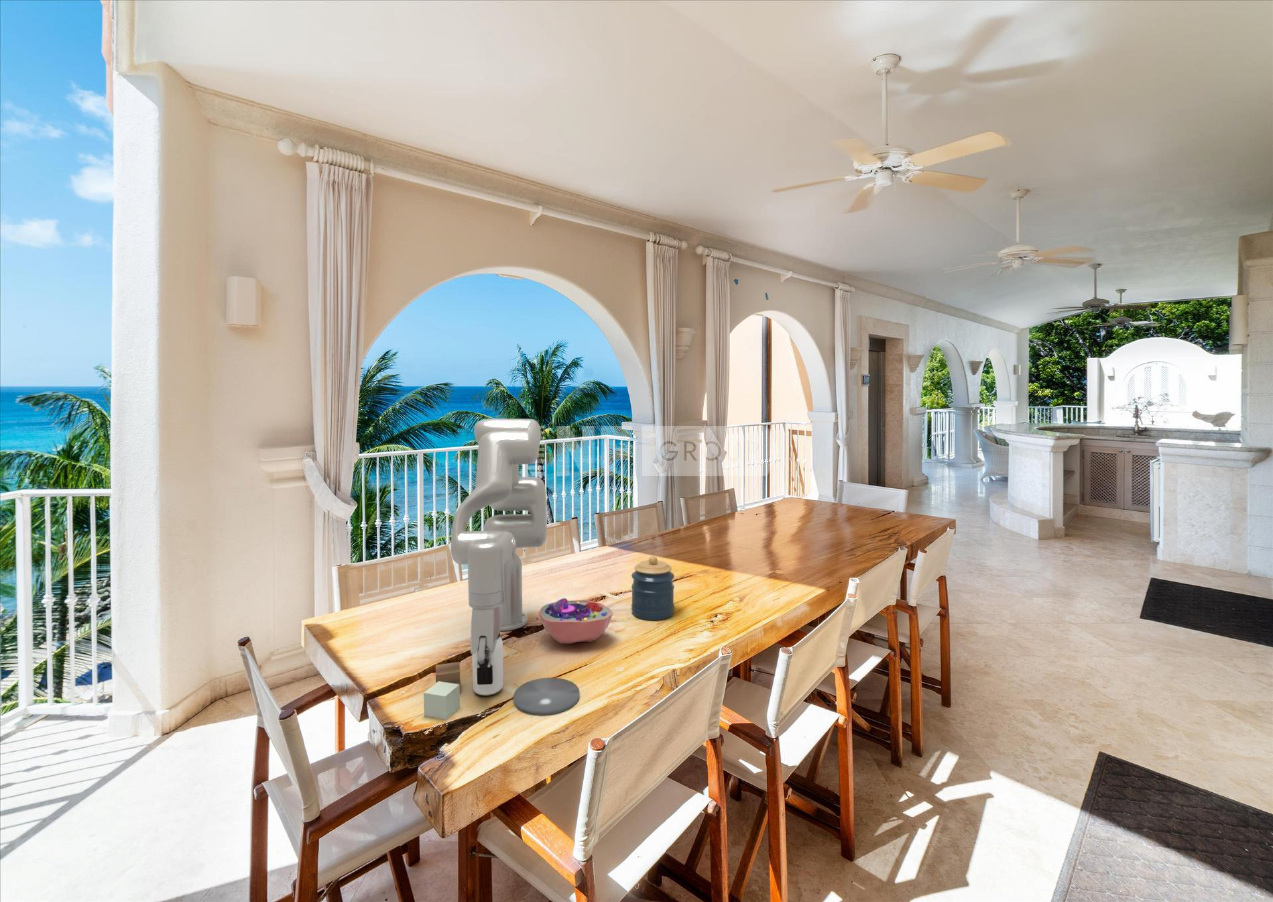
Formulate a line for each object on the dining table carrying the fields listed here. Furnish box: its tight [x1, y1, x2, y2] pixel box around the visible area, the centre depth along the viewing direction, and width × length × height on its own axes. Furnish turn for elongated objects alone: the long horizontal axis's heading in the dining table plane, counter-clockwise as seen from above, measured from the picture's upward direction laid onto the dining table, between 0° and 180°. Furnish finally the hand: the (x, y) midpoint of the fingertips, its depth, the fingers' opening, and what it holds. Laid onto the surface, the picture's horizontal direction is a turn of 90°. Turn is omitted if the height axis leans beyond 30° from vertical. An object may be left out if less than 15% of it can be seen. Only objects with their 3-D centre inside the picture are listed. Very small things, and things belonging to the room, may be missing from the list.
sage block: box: [423, 681, 461, 721], centre depth 116 cm, size 5×5×5 cm
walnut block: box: [435, 661, 461, 689], centre depth 125 cm, size 5×5×5 cm
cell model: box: [538, 597, 614, 644], centre depth 151 cm, size 17×20×11 cm
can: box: [471, 632, 504, 696], centre depth 124 cm, size 6×6×12 cm
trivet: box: [513, 677, 580, 716], centre depth 122 cm, size 14×14×1 cm
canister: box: [630, 555, 675, 621], centre depth 171 cm, size 13×13×18 cm
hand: (488, 674), depth 124 cm, fingers closed on can, 6 cm apart
